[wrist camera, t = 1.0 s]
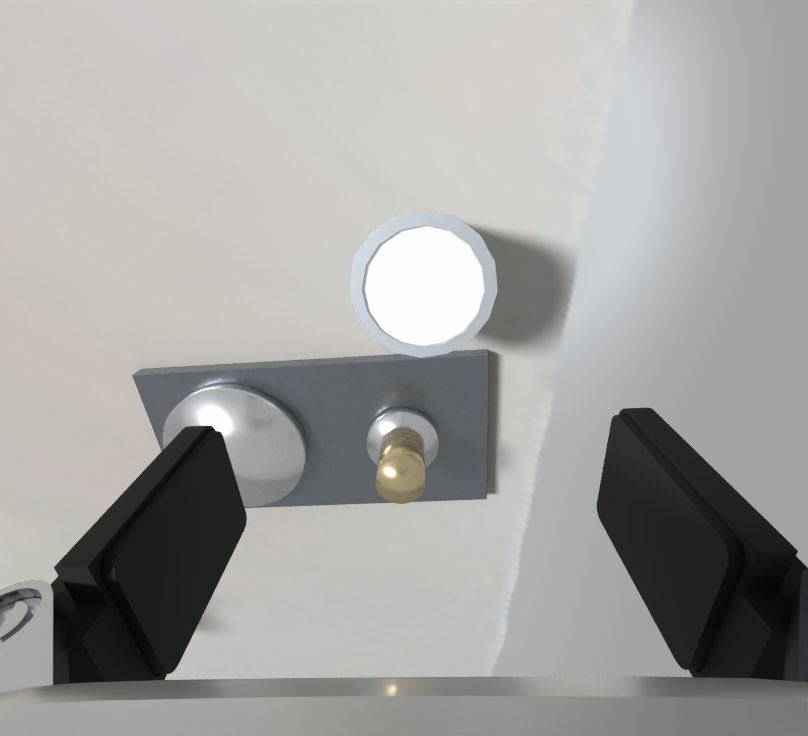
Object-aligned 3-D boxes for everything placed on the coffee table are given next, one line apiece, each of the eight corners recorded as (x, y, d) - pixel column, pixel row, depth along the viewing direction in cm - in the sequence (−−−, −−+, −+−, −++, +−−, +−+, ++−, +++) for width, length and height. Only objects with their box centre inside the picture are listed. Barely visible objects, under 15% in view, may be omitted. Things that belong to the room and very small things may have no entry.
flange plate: (141, 369, 29) (76, 413, 23) (486, 349, 27) (503, 391, 22) (190, 501, 34) (147, 563, 28) (484, 490, 32) (498, 553, 27)
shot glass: (491, 293, 26) (516, 330, 19) (391, 331, 27) (383, 377, 21) (456, 182, 23) (471, 183, 17) (347, 229, 24) (322, 246, 18)
